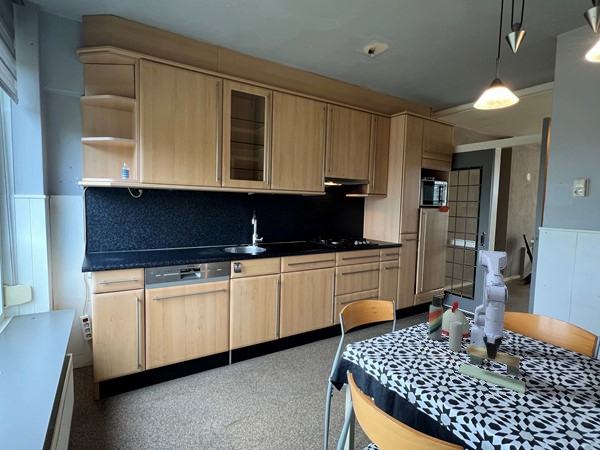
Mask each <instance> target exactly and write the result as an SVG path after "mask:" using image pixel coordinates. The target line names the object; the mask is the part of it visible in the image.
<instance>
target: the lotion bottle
mask: <svg viewBox="0 0 600 450" xmlns="http://www.w3.org/2000/svg"><path fill="white" fill-rule="evenodd" d="M431 300H432V301H431V302H432V303H431V304H430V305H429V313H428V314H429V318H428V334H427V335H428V339H430V340H433V341H441V340H442V335H443V333H442V320H443V314H444V307H443V306H442V297H441V296H437V295H433V296H432V299H431Z"/></svg>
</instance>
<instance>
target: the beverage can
mask: <svg viewBox="0 0 600 450" xmlns="http://www.w3.org/2000/svg"><path fill="white" fill-rule="evenodd" d="M462 327H463V325H462V323H461V322H459V321H451V322H450V333H449V335H448V336H449V337H448V350H450V351H452V352H455V353H459V352H461V351H462V343H463V342H462V340H463V339H462V338H463V337H462Z"/></svg>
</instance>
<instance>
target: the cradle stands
mask: <svg viewBox="0 0 600 450" xmlns="http://www.w3.org/2000/svg"><path fill="white" fill-rule="evenodd" d="M469 355H470V358H469V363H470V364H473V365H476V366H481V365H482V363H483V359H484V358H481V357H478V356H474V355H471V354H469ZM505 374H506V375H510V376H513V377H517V378H519V375H520V367H519V368H517V367H513V366H510V365H506V373H505Z"/></svg>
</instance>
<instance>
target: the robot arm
mask: <svg viewBox="0 0 600 450" xmlns="http://www.w3.org/2000/svg"><path fill="white" fill-rule="evenodd" d="M478 252H479V253H478V266H479V268H481V269H483V271H484V279H483V292H482V293H483V295H482V304H480V305H478V306H476V307H475V310H474V317H473V318H474V320H473V321H474V324H472V326H471V330H470V345H474V346H477V347H481V348H485V349H486V350H487V356H488V358H491V359H495V357H496V354H497V352H499V351H498V350H499V348H500V346H501V345H502V344H503V339H504V338H507V337H508V333H506V332H504V328H505V312H506V311H505V310H506V304H507V303H508V300H509V299H508V298H509V292H508V287H507V286H506V284H505V278H504V275H503V274H502V273H501V270H504V269H505V267H506V266H507V263H508V253H507V252H506V251H495V250H483V249H480V250H479V251H478Z"/></svg>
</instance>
